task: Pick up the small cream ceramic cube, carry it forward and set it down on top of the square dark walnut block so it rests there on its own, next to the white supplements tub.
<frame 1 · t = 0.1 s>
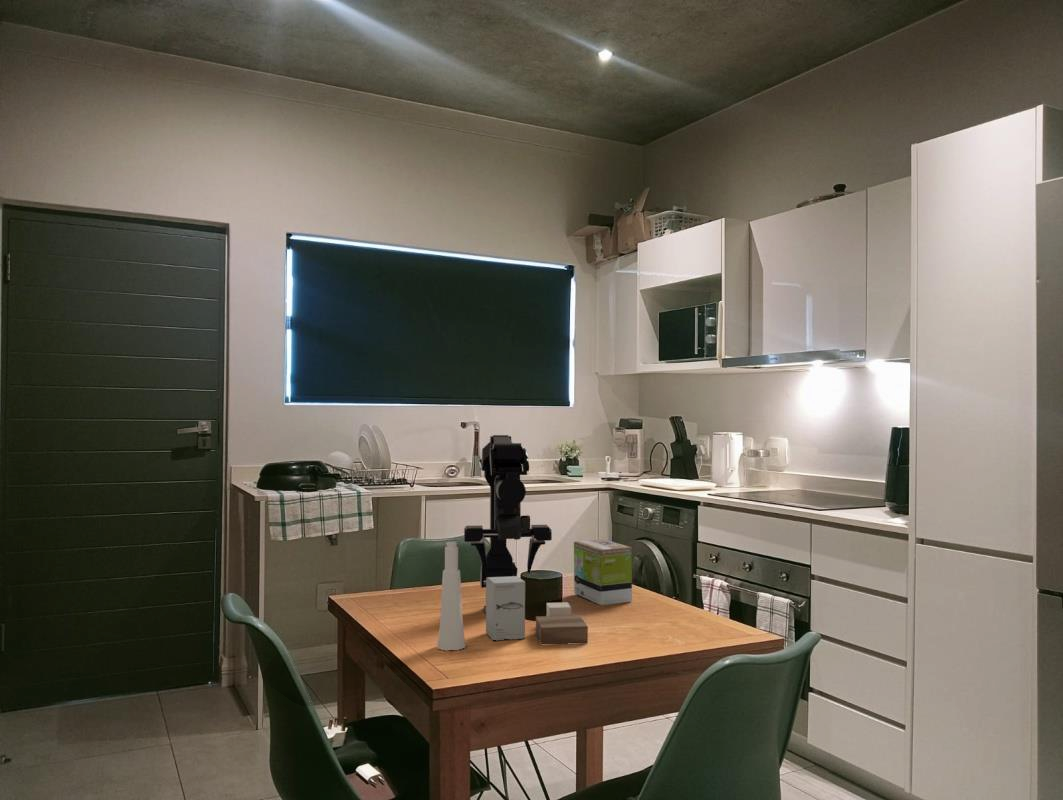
hand: (507, 573, 178), 15 cm above the table, tool pointing down, fingers open, 9 cm apart
supplement box: (505, 637, 181), on the table
tea box: (602, 599, 219), on the table
ceramic cube: (558, 626, 190), on the table
cosmetic bottle: (451, 648, 172), on the table
walnut block: (561, 639, 180), on the table
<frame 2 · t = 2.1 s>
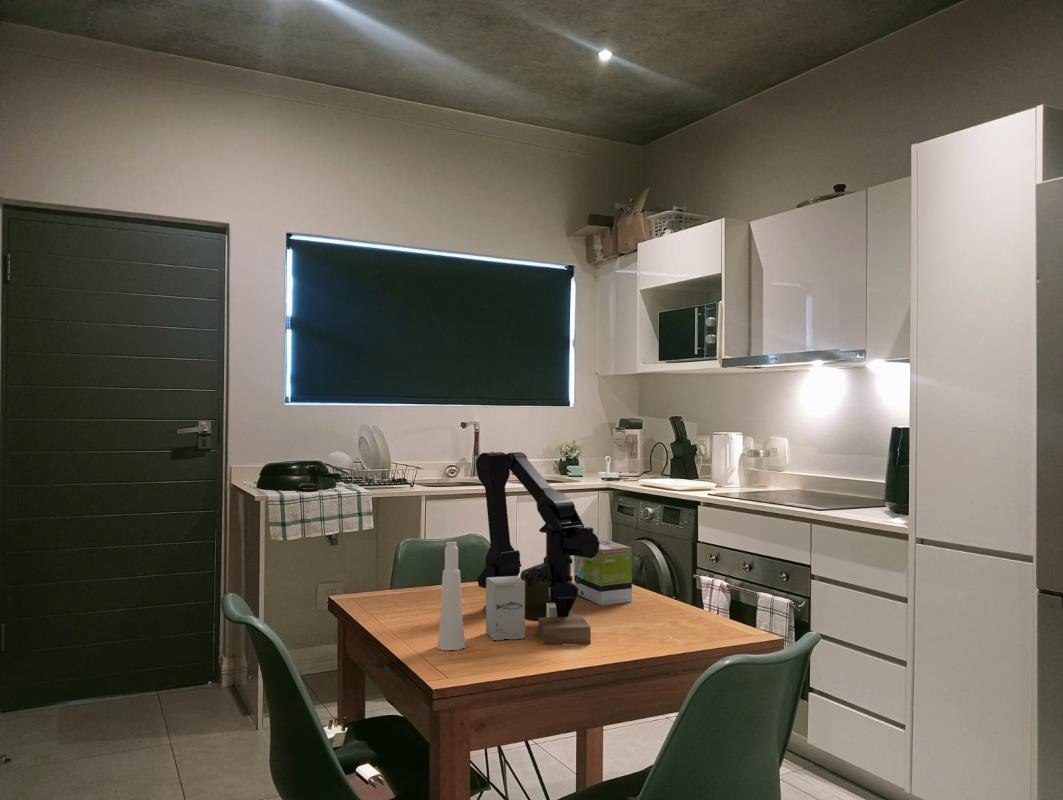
hand: (558, 620, 190), 1 cm above the table, tool pointing down, fingers open, 9 cm apart
nothing on the table moved.
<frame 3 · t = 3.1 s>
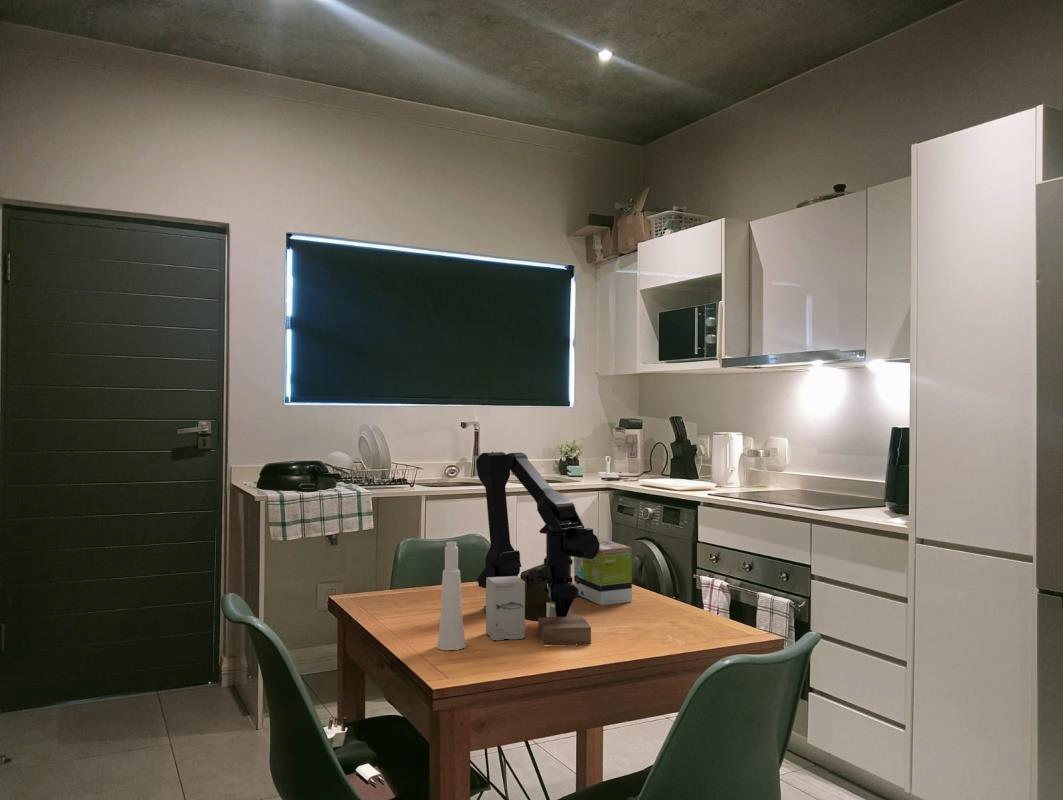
hand: (558, 621, 190), 1 cm above the table, tool pointing down, fingers closed on ceramic cube, 5 cm apart
ceramic cube: (558, 626, 190), on the table, touching gripper
when the fingers open (6 cm above the table, at t = 7.0 s): ceramic cube drops 1 cm, resting on walnut block.
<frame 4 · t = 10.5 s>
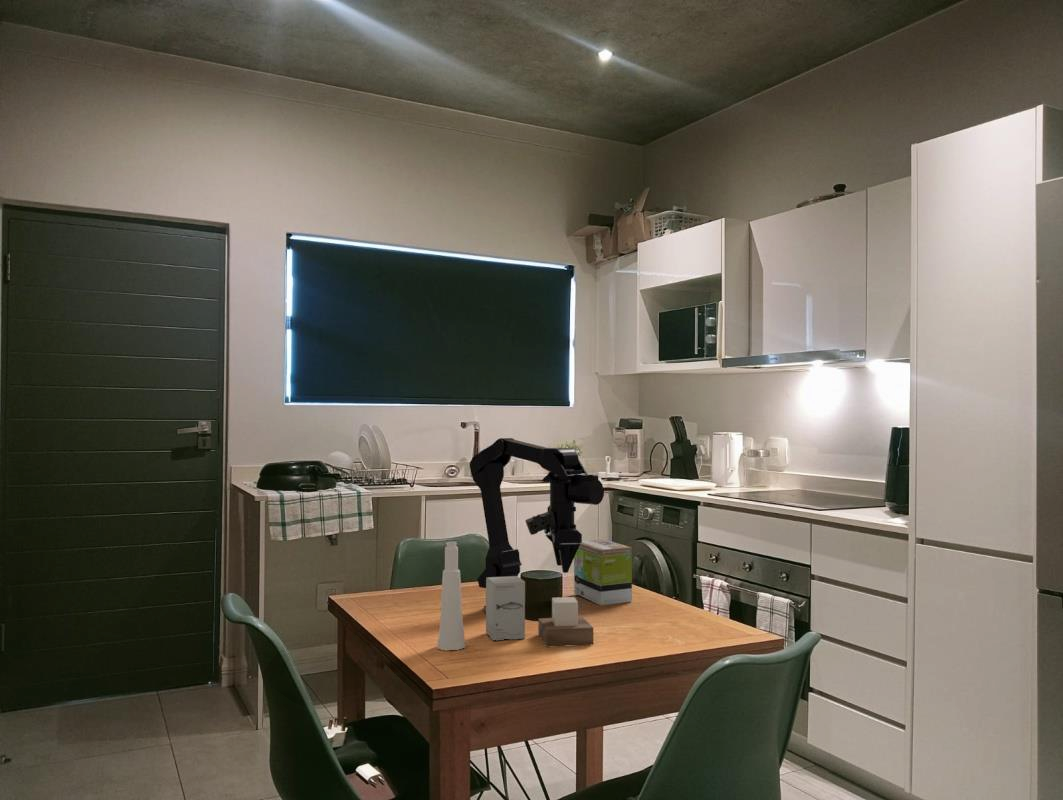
hand: (562, 568, 191), 13 cm above the table, tool pointing down, fingers open, 9 cm apart
ceramic cube: (564, 623, 179), point 4 cm above the table, touching walnut block
walnut block: (565, 641, 178), on the table, touching ceramic cube
everything else where it was.
at the end: ceramic cube inside the target area on the walnut block (0.1 cm from its centre), point 4.0 cm above the walnut block's base; ceramic cube tilted 0°; the gripper is holding nothing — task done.
